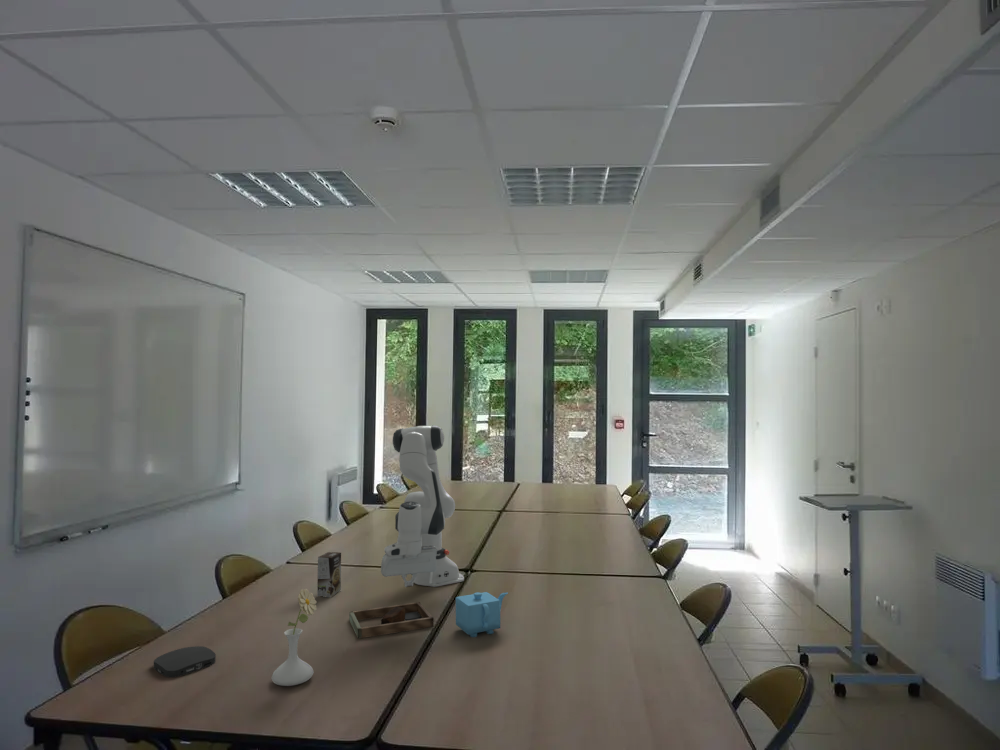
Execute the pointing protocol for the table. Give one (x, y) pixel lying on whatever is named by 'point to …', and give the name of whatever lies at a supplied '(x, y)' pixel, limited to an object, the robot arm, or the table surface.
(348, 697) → the table surface
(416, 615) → the trap pits
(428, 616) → the box
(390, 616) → the brick
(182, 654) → the media streaming box
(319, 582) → the coffee box
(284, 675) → the flower in vase
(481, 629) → the teapot
